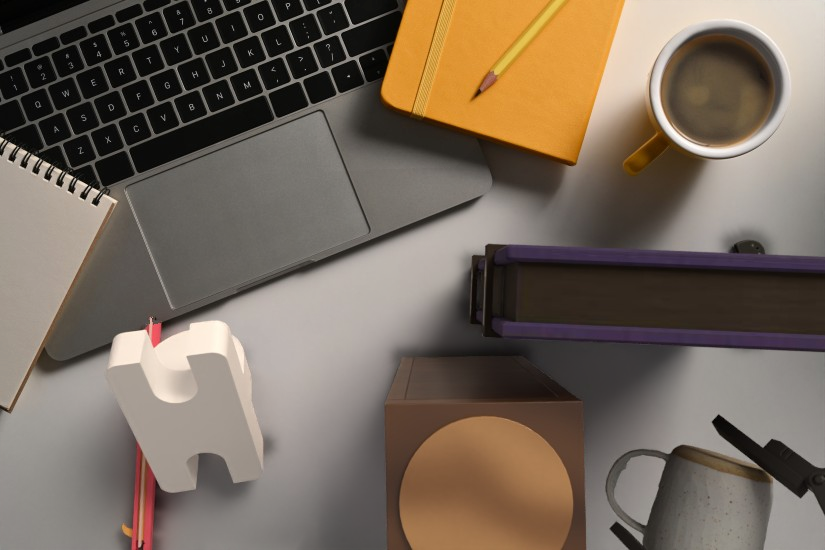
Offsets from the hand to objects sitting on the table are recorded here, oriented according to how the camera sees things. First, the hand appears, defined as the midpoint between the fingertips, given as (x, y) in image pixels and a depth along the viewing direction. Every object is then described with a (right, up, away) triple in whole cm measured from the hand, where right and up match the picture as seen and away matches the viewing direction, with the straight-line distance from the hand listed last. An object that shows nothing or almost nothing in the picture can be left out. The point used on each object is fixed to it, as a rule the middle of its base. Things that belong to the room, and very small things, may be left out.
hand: (668, 477), depth 49 cm
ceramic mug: (+2, -3, +4) cm, 5 cm away
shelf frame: (-13, 0, +20) cm, 24 cm away
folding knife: (+17, +13, +19) cm, 28 cm away
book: (-1, +12, +20) cm, 24 cm away
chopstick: (-42, -2, +20) cm, 46 cm away
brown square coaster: (-14, +1, -6) cm, 15 cm away
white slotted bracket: (-38, +1, +11) cm, 39 cm away
